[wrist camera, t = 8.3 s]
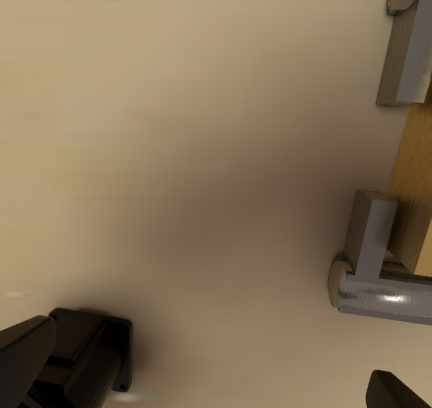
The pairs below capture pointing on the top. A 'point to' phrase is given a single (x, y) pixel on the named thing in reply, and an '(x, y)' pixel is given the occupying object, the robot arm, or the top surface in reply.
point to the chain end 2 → (376, 268)
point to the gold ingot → (414, 191)
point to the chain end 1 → (407, 54)
